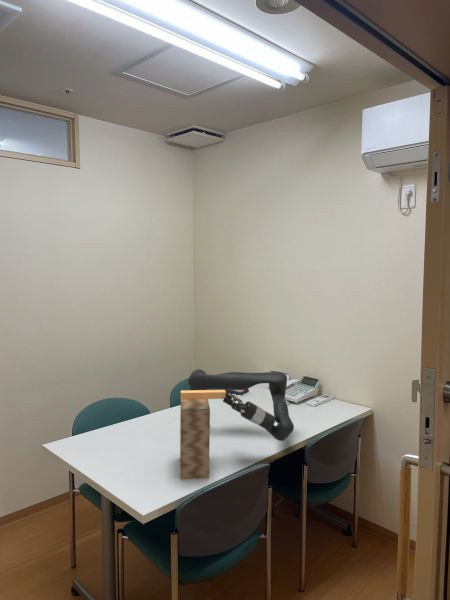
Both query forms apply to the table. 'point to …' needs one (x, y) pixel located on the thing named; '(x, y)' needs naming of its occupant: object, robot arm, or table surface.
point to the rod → (203, 394)
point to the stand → (194, 438)
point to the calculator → (236, 391)
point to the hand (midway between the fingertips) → (223, 396)
